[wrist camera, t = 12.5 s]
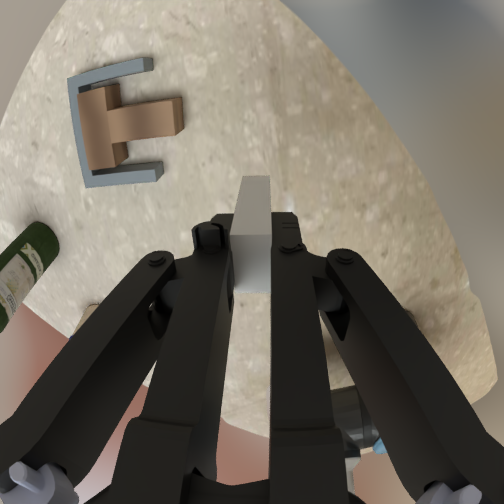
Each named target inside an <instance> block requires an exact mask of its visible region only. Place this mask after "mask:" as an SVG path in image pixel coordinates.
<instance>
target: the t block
mask: <svg viewBox="0 0 504 504" xmlns="http://www.w3.org/2000/svg"><path fill="white" fill-rule="evenodd" d="M77 101H78V109H79V116H80V123H81V129H82V135H83V141H84V147H85V152H86V157H87V162H88V167H89V170H96V169H104V168H112V167H116V166H118V165H119V164H120V163H121V162H123V161H124V160H125V159H127V158H128V150H127V144H126V141H132V140H139V139H148V138H156V137H166V136H175V135H177V134H178V133H179V132H181V131H182V130H183V129H184V121H183V108H182V97H180V98H171V99H163V100H156V101H149V102H143V103H137V104H131V105H125V106H121V96H120V86H119V84H117V85H111V86H106V87H101V88H98V89H94V90H90V91H86V92H83V93H79V94H77Z"/></svg>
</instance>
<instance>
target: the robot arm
mask: <svg viewBox="0 0 504 504" xmlns="http://www.w3.org/2000/svg"><path fill="white" fill-rule="evenodd" d="M192 237H193V243H194V252H193V254H192V255H191V256H189V257H185V258H180V259H175V260H174V256H173V254H172V253H171V252H168V251H154V252H152V253H149V254H147V255H146V256H145V257H143V258H142V259H141V260H140V261H139V262H138V263H137V264H136V265H135V266H134V268H133V269H132V270H131V271H130V272H129V273H128V274H127V275H126V276H125V277H124V278H123V279H122V280H121V281H120V283H119V284H118V285H117V286H116V287H115V288H114V289H113V290H112V291H111V292H110V294H109V295H108V296H107V297H106V298H105V299H104V300H103V301H102V302H101V304H100V305H99V306H98V307H97V308H96V309H95V310H94V312H93V313H92V314H91V315H90V316H89V317H88V319H87V320H86V321H85V322H84V323H83V324H82V326H81V327H80V328H79V329H78V330H77V331H76V333H75V334H74V335H73V336H72V337H71V339H70V340H69V341H68V342H67V344H66V345H65V346H64V347H63V348H62V350H61V351H60V353H59V354H58V355H57V356H56V357H55V358H54V360H53V361H52V362H51V364H50V365H49V366H48V368H47V369H46V370H45V371H44V373H43V374H42V375H41V377H40V378H39V379H38V381H37V382H36V383H35V385H34V386H33V387H32V389H31V390H30V391H29V393H28V394H27V395H26V397H25V398H24V400H23V401H22V402H21V404H20V405H19V407H18V408H17V410H16V411H15V412H14V414H13V415H12V416H11V417H10V418H8V419H7V420H6V421H5V422H3V423H2V424H1V425H0V497H1V499H2V501H3V503H4V504H78V503H79V497H78V495H77V493H76V492H75V491H74V488H75V487H76V486H77V485H78V484H79V483H80V482H81V481H82V480H83V479H84V478H85V476H86V475H87V474H88V473H89V472H90V470H91V469H92V467H93V466H94V464H95V462H96V461H97V459H98V457H99V456H100V454H101V452H102V451H103V449H104V447H105V445H106V443H107V442H108V440H109V438H110V437H111V435H112V433H113V432H114V430H115V428H116V427H117V425H118V423H119V421H120V420H121V418H122V416H123V415H124V413H125V411H126V410H127V408H128V406H129V405H130V403H131V401H132V400H133V398H134V396H135V394H136V393H137V391H138V390H139V388H140V386H141V385H142V383H143V381H144V380H145V378H146V376H147V375H148V373H149V372H150V370H151V368H152V367H153V365H154V363H155V362H156V360H157V362H156V365H155V368H154V372H153V375H152V378H151V382H150V385H149V389H148V393H147V396H146V400H145V403H144V406H143V410H142V412H141V414H140V415H139V417H135V418H132V419H131V420H130V421H129V422H128V424H127V426H126V429H125V432H124V435H123V439H122V442H121V446H120V450H119V454H118V458H117V462H116V466H115V470H114V474H113V478H112V482H111V484H110V485H109V486H107V487H106V488H105V489H103V490H102V491H101V492H99V493H98V494H97V495H95V496H94V497H92V498H91V499H90V500H88V501H87V502H85V503H84V504H366V503H365V502H364V501H362V500H361V499H360V498H359V497H357V496H356V495H355V493H354V492H355V491H354V480H353V469H354V467H355V466H356V465H357V464H358V462H359V461H360V460H361V455H360V449H364V448H368V447H373V450H374V451H375V453H376V454H383V453H388V455H389V457H390V460H391V462H392V464H393V466H394V468H395V471H396V473H397V475H398V477H399V479H400V480H401V482H402V484H403V486H404V487H405V489H406V490H407V492H408V493H409V495H410V496H411V497H412V498H413V499H414V500H415V502H416V503H415V504H504V447H503V446H502V445H501V444H500V443H499V442H497V441H496V440H495V439H494V438H493V437H492V436H491V435H489V434H488V433H487V432H486V430H485V428H484V427H483V425H482V423H481V422H480V420H479V418H478V417H477V415H476V413H475V411H474V410H473V408H472V407H471V405H470V403H469V402H468V400H467V399H466V397H465V395H464V394H463V392H462V391H461V389H460V388H459V386H458V384H457V383H456V381H455V380H454V378H453V377H452V375H451V374H450V372H449V371H448V369H447V368H446V366H445V365H444V364H443V362H442V361H441V359H440V358H439V356H438V355H437V353H436V352H435V351H434V349H433V348H432V346H431V345H430V344H429V342H428V341H427V339H426V338H425V337H424V335H423V334H422V333H421V331H420V330H419V328H418V326H417V324H416V321H415V319H414V317H413V315H412V314H411V313H409V312H408V311H406V310H404V309H403V307H402V306H401V305H400V303H399V302H398V301H397V300H396V298H395V297H394V296H393V295H392V293H391V292H390V291H389V290H388V288H387V287H386V286H385V285H384V283H383V282H382V281H381V280H380V278H379V277H378V276H377V275H376V274H375V272H374V271H373V270H372V269H371V267H370V266H369V265H368V264H367V263H366V262H365V260H364V259H363V258H362V257H361V256H360V255H359V254H358V253H357V252H354V251H352V250H350V249H344V248H342V249H335V250H332V251H330V252H329V253H328V255H327V258H326V257H321V256H317V255H314V254H311V253H309V252H308V251H307V248H306V246H305V244H303V243H302V238H301V233H300V228H299V224H298V218H297V216H296V215H294V214H293V213H292V212H271V195H270V176H243V177H242V181H241V186H240V190H239V194H238V199H237V203H236V208H235V212H234V214H217V215H215V216H214V217H213V218H212V219H211V221H208V222H203V223H200V224H198V225H196V226H194V227H193V229H192ZM233 290H235V293H271V368H270V441H269V477H268V479H266V480H261V481H256V482H251V483H246V484H240V485H232V486H231V485H226V484H222V483H219V482H216V479H217V466H216V449H217V441H218V432H219V423H220V415H221V406H222V397H223V389H224V380H225V372H226V364H227V355H228V347H229V339H230V331H231V323H232V315H233V307H234V295H233ZM151 303H152V305H151ZM150 305H151V306H150ZM149 307H150V308H149ZM318 310H319V312H320V316H321V318H322V320H323V322H324V324H325V325H326V327H327V329H328V331H329V333H330V335H331V337H332V339H333V341H334V343H335V345H336V347H337V349H338V351H339V353H340V355H341V357H342V359H343V361H344V363H345V365H346V367H347V369H348V371H349V373H350V375H351V377H352V379H353V381H354V383H355V385H353V386H348V387H343V388H338V389H333V390H330V384H329V376H328V369H327V362H326V355H325V349H324V342H323V336H322V330H321V324H320V318H319V312H318Z"/></svg>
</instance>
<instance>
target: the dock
mask: <svg viewBox="0 0 504 504" xmlns="http://www.w3.org/2000/svg"><path fill="white" fill-rule="evenodd" d="M152 70H153V62H152V58H139V59H134V60H130V61H125V62H121V63H117V64H113V65H109V66H106V67H102V68H98V69H95V70H92V71H88V72H85V73H82V74H79V75H76V76H73V77H70V78H67V83H68V93H69V101H70V109H71V116H72V123H73V129H74V135H75V141H76V146H77V151H78V156H79V161H80V166H81V170H82V175H83V179H84V183H85V188H92V187H102V186H112V185H122V184H134V183H147V182H157V181H158V179H159V178H160V177H161V176H162V175H163V174H164V171H163V164H162V162H154V163H143V164H133V165H124V166H116V167H112V168H104V169H96V170H89V167H88V162H87V157H86V152H85V147H84V141H83V135H82V129H81V123H80V116H79V109H78V101H77V94H79V93H83V92H86V91H90V90H91V86H90V85H91V84H94V83H98V82H102V81H106V80H110V79H114V78H118V77H122V76H127V75H132V74H136V73H142V72H147V71H152Z"/></svg>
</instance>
